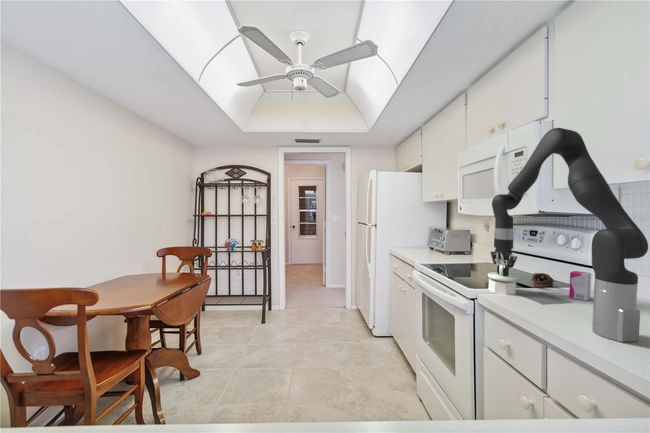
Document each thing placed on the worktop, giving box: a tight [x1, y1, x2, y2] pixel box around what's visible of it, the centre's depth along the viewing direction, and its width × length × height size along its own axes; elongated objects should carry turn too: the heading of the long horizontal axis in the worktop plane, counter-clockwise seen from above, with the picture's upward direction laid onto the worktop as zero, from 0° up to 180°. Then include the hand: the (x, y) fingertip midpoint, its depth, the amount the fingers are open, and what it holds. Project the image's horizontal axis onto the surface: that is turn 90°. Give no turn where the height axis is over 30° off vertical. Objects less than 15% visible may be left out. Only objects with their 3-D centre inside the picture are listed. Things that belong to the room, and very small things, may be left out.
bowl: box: [487, 277, 517, 296], centre depth 130 cm, size 11×11×5 cm
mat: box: [514, 291, 574, 306], centre depth 120 cm, size 14×14×1 cm
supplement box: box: [568, 270, 592, 302], centre depth 120 cm, size 6×6×12 cm
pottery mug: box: [531, 272, 556, 288], centre depth 136 cm, size 12×10×8 cm
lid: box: [487, 264, 519, 282], centre depth 129 cm, size 12×12×6 cm
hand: (502, 275), depth 129 cm, fingers closed on lid, 2 cm apart
